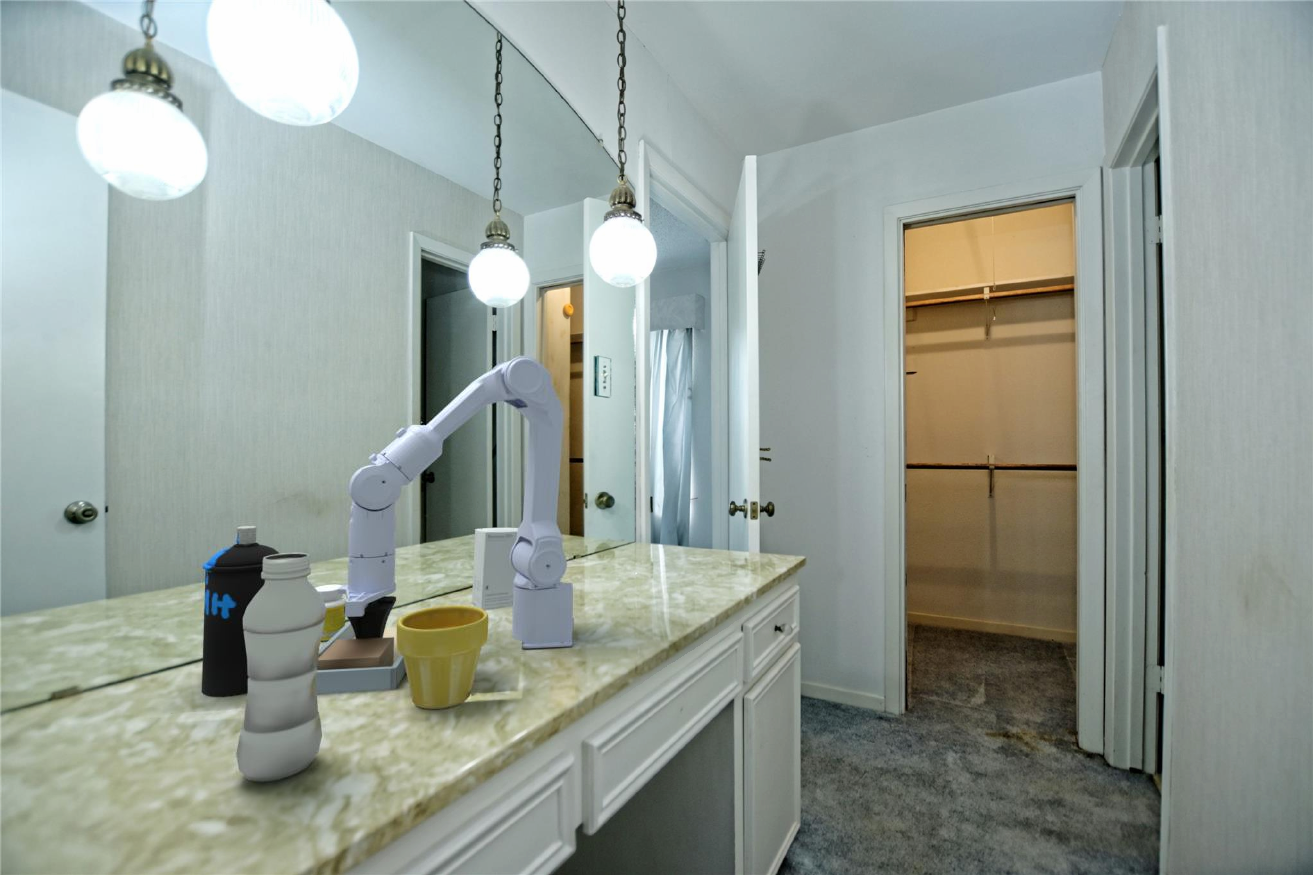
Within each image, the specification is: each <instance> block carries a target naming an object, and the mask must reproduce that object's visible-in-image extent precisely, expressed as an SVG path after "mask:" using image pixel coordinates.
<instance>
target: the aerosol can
mask: <svg viewBox="0 0 1313 875" xmlns="http://www.w3.org/2000/svg"><path fill="white" fill-rule="evenodd" d="M236 532H237V534H236V536H237V537H236V539H235V541H236V543H234V544H232V546H229V547H227V548H224V549H222V550H220V551H218V552H216V553H215V554H214V555H213V556H211V557H210V558H209V560H208V561H206V562H204V563H203V565H202V569H203V570H205V573H204V574H205V575H204V576H205V577H204V604H203V605H204V607H203V631H202V632H203V635H202V636H203V639H202V640H203V642H202V666H201V667H202V668H201V670H202V672H201V693H202V694H203V695H204V696H206V697H210V698H211V697H212V698H227V697H235V696H242V695H248V678H249V676H248V666H247V653H246V645H245V638H244V629H243V616H244V614H245V611H246V608H247V606H248V605H249V603H250V602H251V600H252V599H253V598H254V596H255V595H256V594H257V593H258V591H259V590H260V589H261V588H262V587H263V586H264V584H265V579H262V578H261V573H262V572H263V558H264V557H266V556H269V555H275V554H281V553H280V552H279V551H277V549H275V548H274V547H271V546H268V545H264V544H259V542H257V526H255V525H245V526H244V525H243V526H238V527H237V528H236Z"/></svg>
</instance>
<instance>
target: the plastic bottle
mask: <svg viewBox="0 0 1313 875" xmlns="http://www.w3.org/2000/svg"><path fill="white" fill-rule="evenodd" d="M311 574H312V569H311V556H310V554H309V553H305V552H286V553H280V554H275V555H269V556H266V557H264V558H263V572H262V573H261V578H262V579H265V584H264V586H263V587H262V588H261V589H260V590H259V591H258V593H257V594H256V595H255V596H254V598H253V599H252V600H251V602H250V603H249V605H248V606H247V608H246V611H245V614H244V616H243V629H244V638H245V645H246V653H247V666H248V676H249V678H248V693H247V694H246V704H245V711H244V717H243V723H242V724H243V725H242V727H241V730H240V734H239V738H238V742H237V743H238V744H237V748H236V754H235V755H236V761H237V766H238V767H237V768H238V770H239V772H240V773H241V774H242V775H243V776H244V777H245V778H246V779H248V780H249V781H253V782H263V783H264V782H272V781H273V782H274V781H278V780H281V779H285V778H288V777H292V776H293V775H295V774H298V773H300V772H302V771H303V770H305V769H306V768H308V767H309V766H310V765H311V764H312V762H313V761H314V759H315V758H316V757H317V756H318V754H319V751H320V747H321V743H322V742H321V741H322V739H323V730H322V722H321V716H320V712H319V706H318V694H317V684H316V677H317V664H318V656H319V649H320V648H321V646H320V645H321V643H322V642H321V637H322V632H323V627H324V620H325V615H326V607H325V603H324V600H323V598H322V597H321V595H320V594H319V592H318V591H317V590H316V589H315V588H316V587H315V586H313V584H311V582H310V581H309V580H308V576H311Z"/></svg>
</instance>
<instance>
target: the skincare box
mask: <svg viewBox="0 0 1313 875" xmlns="http://www.w3.org/2000/svg"><path fill="white" fill-rule="evenodd" d="M518 528H519V527H483V528H476V529H474V548H473V549H474V550H473V555H474V556H473V570H472V571H473V573H472V576H473V577H472V594H471V595H472V596H471V604H472V605H473V606H474V607H476V608H480V609H483V610H485V611H488V610H493V609H494V610H495V609H500V608H507V607H513V586H514V579H515V577H516V571H515V570H514V569H513V567H512V566H511V563H510V552H511V549H512V547H513V546H514V544H515V542H516V539H517V531H518Z"/></svg>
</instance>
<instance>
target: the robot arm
mask: <svg viewBox="0 0 1313 875" xmlns="http://www.w3.org/2000/svg"><path fill="white" fill-rule="evenodd" d="M499 402H505V403H506V404H508V405H510V406H511V407H514V408H516V410H517V411H518V412H519V413H520V414H521V415H522V416H523V417H524V418H525V419H526V420H527V421H528V422H529V423H528V424H529V428H528V429H529V430H528V442H527V443H528V444H527V456H526V458H527V459H526V470H525V471H526V474H525V483H524V485H525V486H524V487H525V488H524V498H523V499H524V500H523V501H524V502H523V513H522V515H523V516H522V522H520V525H519V526H518V527H517V528H518V531H517V539H516V542H515V544H514V546H513V547H512V549H511V552H510V563H511V566H512V567H513V569H514V570H515V571H516V577H515V579H514V586H513V606H512V627H511V628H512V630H511V631H512V632H511V633H512V635H511V636H512V638H513V639H514V640H517V641H519V642H521V649H522V650H523V649H524V650H525V649H539V648H540V649H544V648H561V647H562V648H563V647H564V648H565V647H572V646H573V630H574V628H575V620H574V616H573V615H574V613H573V612H574V589H573V588H574V587H573V583H572V582H564V581H563V582H562V581H561V580H562V578H564V575H565V573H566V571H567V566H568V562H567V557H566V555H565V552H564V550H563V549H564V548H563V542H564V541H563V535H562V533H561V530H560V529H559V526H558V524H557V520H558V518H557V517H558V507H559V492H560V491H559V489H560V475H561V461H562V460H561V459H562V447H563V445H562V444H563V431H564V430H563V429H564V408H563V406H562V404H561V401H560V398H559V396H558V395H557V392H556V390H555V387H554V385H553V383H552V373H551V372H550V371H549V370H548V369H547V368H546V367H545V366H544V365H542V363H540V361H538V360H537V359H535V358H534V357H532V356H529V355H519V356H516V357H514V358H513V359H511V360H509V361H504V362H501V363H499V364H497V365H495V366H494V367H493V368H492V369H491V370H490V371H488V372H487V371H486V372H485V373H484V374H482V375H481V376H479V377H478V378H476V379H475V380H473V381H472V382H471V383H470V384H469V385H468V386H467V387H465V389H464V390H462V391H461V392H460V393H459V395H456V397H455V398H454V399H453V400H452V401H450V402H449V403H448V405H446V406H445V407H444V408H443V409H442V410H441V411H440V412H439V413H438V414H436V416H434V417H433V419H432V420H430V421H429V422H427V424H426V425H425V424H423V425H421V424H412V425H410V426H409V427H408V428H405V427H401V428H400V429H399V430H398V431H396V432H395V435H396V436H397V437H396V438H395V439H394V440H393V441H392V442H391V443H389V445H386V447H385V448H384V449H382V450H381V451H380V452H379V453H378V454H375V453H372V454H371V455H370V456H369V457H368V461H370V462H371V463H372V464H369V465H365V466H362V467H361V468H359V469H358V470H356V471H355V472H354V474H353V475H351V477H350V481H349V484H348V485H347V491H348V494H349V496H350V497H351V499H352V500H353V501H352V502H351V506H350V510H349V512H350V517H351V518H350V520H349V523H348V548H347V549H348V552H347V553H348V557H347V558H348V562H347V563H348V564H347V584H344V585H342V586H340V587H339V588H338V594H343V595H345V597H346V600H345V606H344V613H345V618H347V619H348V622H349V621H350V623H351V625H352V627H353V630H354V633H355V637H356V639H366V638H383V634H384V630H385V628H386V626H387V622H388V619H389V617H390V614H391V612H392V610H393V608H394V606H395V604H396V603H397V597H396V596H394V595H391V594H393V593H395V592H396V590H397V584H396V582H395V580H396V579H395V578H396V577H395V576H396V549H397V548H396V542H397V519H396V502H397V501H398V499H399V498H400V496H401V493H402V487H403V486H408V485H410V484H411V483H412V482H413V481H415V479H417V478H418V476H420V474H422V473H423V472H424V471H425V470H426V469H427V468H429V467H430V466H431V464H432V463H434V462H435V461H436V460H438V458H440V456H441V455H442V454H443V444H444V440H446V439H447V438H448V437H449V436H450V435H451V434H453V433H454V432H455V431H456V430H458V429H459V428H460V427H461V426H462V425H463V424H465V423H466V422H467V421H468V420H470V419H471V418H472V417H473V416H474V415H476V414H477V413H478V412H479V411H480V410H481V409H482V408H484V407H486V406H487V405H491V404H495V403H499Z"/></svg>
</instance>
